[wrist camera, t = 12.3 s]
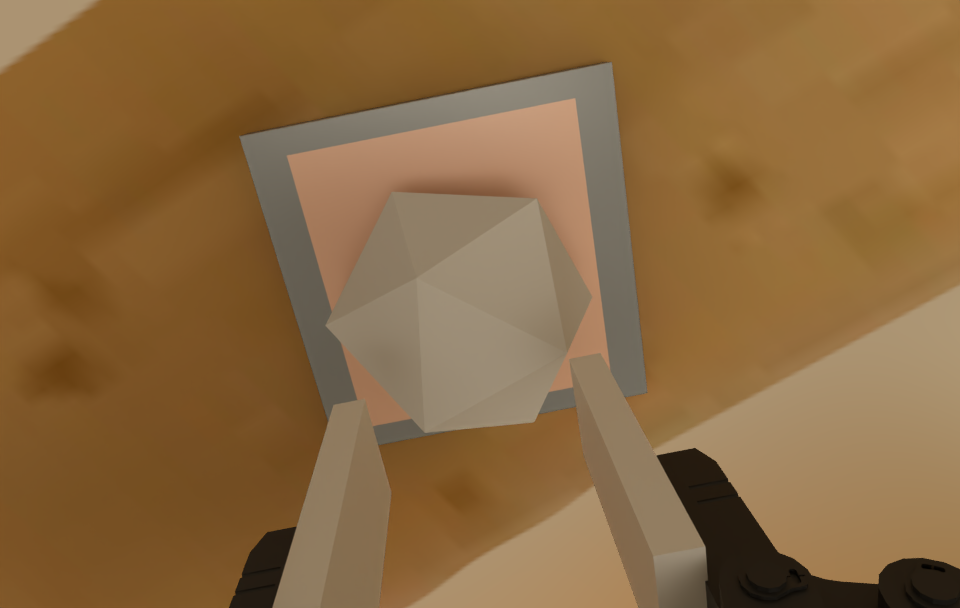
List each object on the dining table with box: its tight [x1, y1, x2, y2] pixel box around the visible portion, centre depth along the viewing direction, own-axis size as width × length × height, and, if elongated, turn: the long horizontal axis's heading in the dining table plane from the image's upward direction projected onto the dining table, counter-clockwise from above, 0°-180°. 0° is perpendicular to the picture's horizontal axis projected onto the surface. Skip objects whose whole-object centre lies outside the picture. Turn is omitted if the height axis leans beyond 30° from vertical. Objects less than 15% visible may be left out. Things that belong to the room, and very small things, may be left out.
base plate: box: [240, 62, 647, 445], centre depth 27 cm, size 14×14×1 cm
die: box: [325, 192, 592, 433], centre depth 23 cm, size 8×9×10 cm
